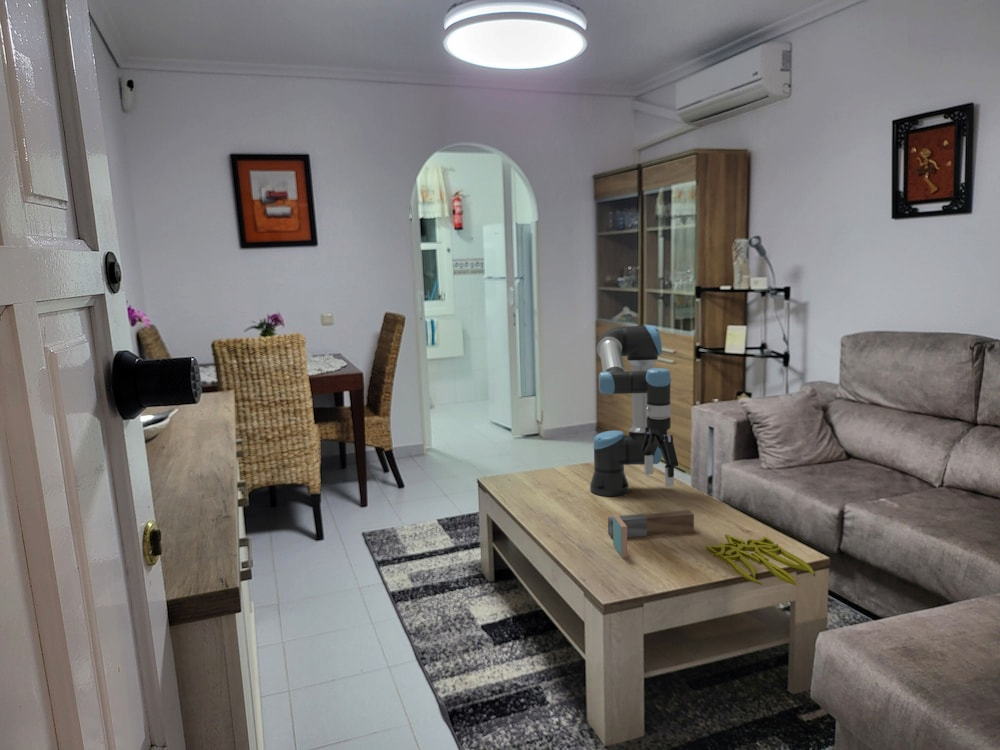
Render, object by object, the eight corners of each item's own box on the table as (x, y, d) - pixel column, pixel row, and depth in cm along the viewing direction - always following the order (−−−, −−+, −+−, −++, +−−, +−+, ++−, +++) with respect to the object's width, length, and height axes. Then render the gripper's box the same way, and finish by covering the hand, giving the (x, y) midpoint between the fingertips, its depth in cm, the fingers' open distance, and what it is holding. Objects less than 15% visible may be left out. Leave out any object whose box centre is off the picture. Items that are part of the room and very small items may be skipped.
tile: (613, 544, 216) (612, 515, 214) (618, 544, 216) (617, 514, 215) (621, 557, 206) (621, 526, 205) (627, 557, 206) (627, 526, 205)
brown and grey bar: (608, 533, 225) (607, 516, 224) (689, 526, 228) (689, 509, 227) (611, 538, 221) (611, 520, 220) (693, 531, 224) (693, 514, 223)
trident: (755, 529, 220) (831, 576, 187) (755, 533, 221) (830, 581, 187) (693, 538, 215) (760, 587, 182) (693, 542, 216) (760, 593, 182)
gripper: (630, 410, 228) (631, 470, 232) (667, 426, 205) (667, 493, 208) (650, 408, 230) (650, 468, 234) (689, 423, 206) (689, 490, 210)
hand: (658, 480), depth 221 cm, fingers open, 13 cm apart
